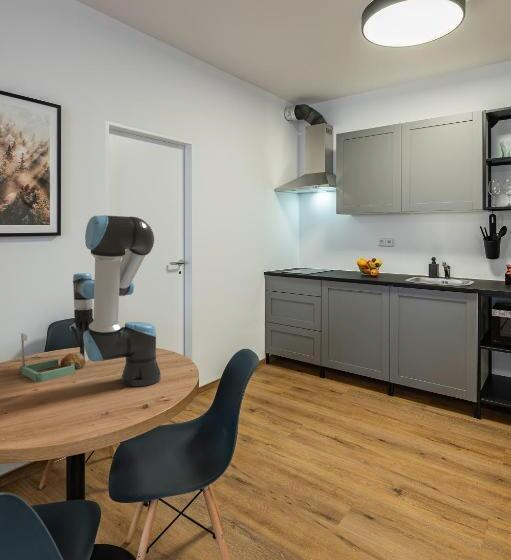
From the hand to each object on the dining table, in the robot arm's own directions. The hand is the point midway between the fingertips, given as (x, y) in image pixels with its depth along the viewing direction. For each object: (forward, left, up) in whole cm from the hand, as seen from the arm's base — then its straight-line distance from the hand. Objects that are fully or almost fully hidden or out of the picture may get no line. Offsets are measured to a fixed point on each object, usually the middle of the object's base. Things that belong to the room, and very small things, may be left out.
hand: (85, 360), depth 185 cm
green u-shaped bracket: (0, +16, -2) cm, 16 cm away
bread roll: (0, +6, -2) cm, 6 cm away
